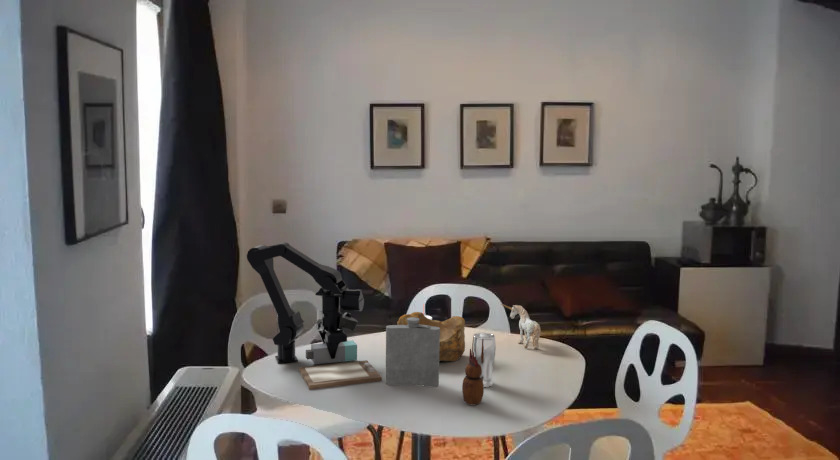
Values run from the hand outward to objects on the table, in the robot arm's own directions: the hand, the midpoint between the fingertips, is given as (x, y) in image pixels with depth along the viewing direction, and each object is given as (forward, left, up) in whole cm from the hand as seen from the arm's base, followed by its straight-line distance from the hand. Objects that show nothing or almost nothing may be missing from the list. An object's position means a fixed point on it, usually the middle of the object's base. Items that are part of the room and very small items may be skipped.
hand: (331, 356), depth 214 cm
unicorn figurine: (+2, +68, -3) cm, 68 cm away
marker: (0, +1, -1) cm, 2 cm away
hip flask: (+25, +19, -3) cm, 31 cm away
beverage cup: (-13, +37, -3) cm, 39 cm away
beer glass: (+32, +39, -3) cm, 50 cm away
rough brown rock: (+7, +32, -3) cm, 33 cm away
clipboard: (+12, 0, -2) cm, 12 cm away
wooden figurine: (+44, +30, -3) cm, 53 cm away
